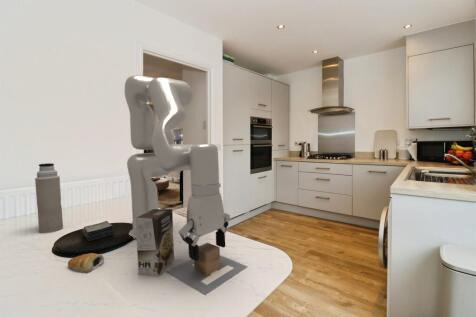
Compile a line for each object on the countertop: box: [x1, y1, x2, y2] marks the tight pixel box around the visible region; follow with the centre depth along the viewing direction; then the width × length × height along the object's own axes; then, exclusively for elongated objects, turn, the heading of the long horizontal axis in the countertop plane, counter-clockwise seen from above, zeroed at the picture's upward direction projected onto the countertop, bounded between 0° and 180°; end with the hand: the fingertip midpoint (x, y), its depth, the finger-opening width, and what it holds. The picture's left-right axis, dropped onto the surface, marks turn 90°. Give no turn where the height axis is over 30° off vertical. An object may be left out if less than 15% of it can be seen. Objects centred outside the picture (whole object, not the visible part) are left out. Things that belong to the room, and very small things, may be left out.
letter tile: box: [165, 254, 248, 296], centre depth 66 cm, size 16×16×1 cm
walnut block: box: [194, 242, 221, 276], centre depth 65 cm, size 5×5×6 cm
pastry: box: [67, 252, 105, 273], centre depth 70 cm, size 9×7×4 cm
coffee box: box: [136, 208, 175, 278], centre depth 67 cm, size 9×6×16 cm
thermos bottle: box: [34, 162, 64, 234], centre depth 99 cm, size 8×8×28 cm
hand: (208, 252), depth 65 cm, fingers open, 9 cm apart
